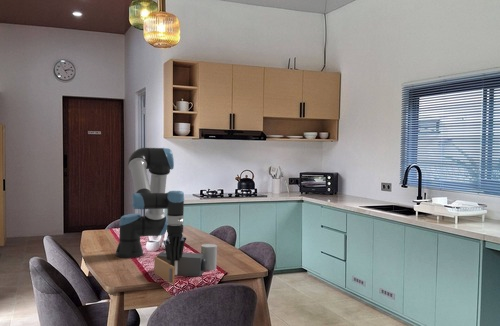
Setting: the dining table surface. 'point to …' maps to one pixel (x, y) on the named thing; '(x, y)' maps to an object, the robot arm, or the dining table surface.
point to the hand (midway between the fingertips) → (174, 274)
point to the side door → (164, 270)
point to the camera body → (188, 263)
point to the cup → (210, 255)
